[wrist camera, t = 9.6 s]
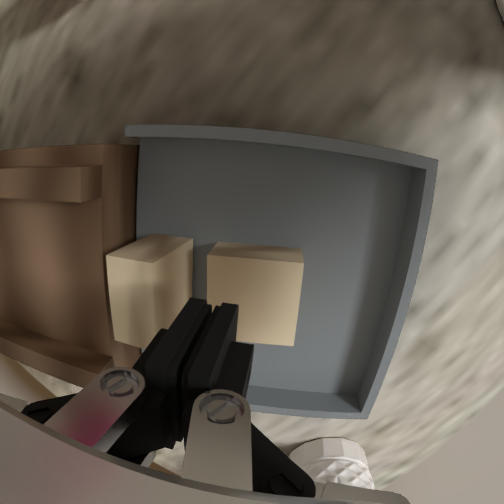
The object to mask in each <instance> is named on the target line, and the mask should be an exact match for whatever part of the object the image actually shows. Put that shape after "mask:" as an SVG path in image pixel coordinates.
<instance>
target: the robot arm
mask: <svg viewBox="0 0 504 504" xmlns="http://www.w3.org/2000/svg"><path fill="white" fill-rule="evenodd" d="M496 3H497V6H498V9H499V12H500V14H501V16H502V19H503V21H504V0H496ZM238 312H239V305H237V304H231V303H224V302H222V304H221V306H217V305H216V306H215V308H214V310H213V312H212V305H211V304H207V300H205V299H199V298H193V297H190V298H189V300H188V301H187V303H186V304H185V306H184V307H183V308H182V310H181V311H180V313H179V314H178V316H177V317H176V318H175V320H174V321H173V323H172V324H171V326H170V327H169V329H164V328H162V329H160V330H159V331H158V333H157V334H156V335H155V337H154V338H153V339H152V341H151V342H150V344H149V345H148V346H147V348H146V349H145V350H144V352H143V353H142V355H141V356H140V357H139V359H138V360H137V362H136V363H135V364H134V366H133V367H132V369H131V368H128V367H113V368H109V369H107V370H104V371H103V372H101V373H100V374H99V375H97V376H96V377H95V378H94V379H93V380H92V381H91V382H90V383H89V384H87V385H86V386H85V387H84V388H83V389H82V390H81V391H80V392H79V393H76V394H71V395H67V396H62V397H57V398H52V399H47V400H42V401H37V402H34V403H31V404H28V401H25V400H21V399H18V398H14V397H11V396H8V395H4V394H1V393H0V504H410V503H409V501H408V500H407V499H406V498H405V497H404V496H402V495H401V494H397V493H394V492H388V491H380V490H373V489H367V488H361V487H355V486H350V485H345V484H340V483H335V482H330V481H327V482H326V484H323V483H319V482H315V481H313V480H312V478H311V477H310V476H309V475H308V474H307V473H306V472H305V471H304V470H302V469H301V468H300V467H299V466H298V465H297V464H295V463H294V462H293V461H292V460H291V459H290V458H289V457H288V456H286V455H285V454H284V453H283V452H282V451H281V450H280V449H279V448H278V447H276V446H275V445H274V444H273V443H272V442H271V441H270V440H269V439H268V438H267V437H266V436H265V435H264V434H262V433H261V432H260V431H259V430H258V429H257V428H256V427H255V426H254V425H253V424H252V423H251V410H250V406H249V403H248V402H247V400H246V395H247V391H248V386H249V381H250V375H251V369H252V362H253V354H254V344H248V343H241V342H236V335H237V323H238ZM183 437H184V447H185V455H184V462H183V468H182V474H181V477H178V476H175V475H171V474H167V473H164V472H160V471H157V470H154V469H150V468H148V467H149V466H150V464H151V463H152V461H153V460H154V458H155V456H156V450H159V449H162V448H164V447H166V448H169V449H173V447H174V445H175V443H176V441H179V442H181V441H182V440H183Z"/></svg>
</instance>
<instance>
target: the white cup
mask: <svg viewBox="0 0 504 504" xmlns="http://www.w3.org/2000/svg"><path fill="white" fill-rule="evenodd" d="M289 458H290V459H291V460H292V461H293V462H294V463H295V464H297V465H298V466H299V467H300V468H301V469H302V470H304V471H305V472H306V473H307V474H308V475H309V476H310V477H311V478H312V480H313V481H315V482H319V483H323V484H326V482H327V481H330V482H335V483H340V484H345V485H350V486H355V487H361V488H367V489H373V490H375V488H374V483H373V479H372V477H371V475H370V472H369V469H368V465H367V460H366V456H365V452H364V450H363V449H362V448H361V447H360V446H359V445H358V444H357V443H356V442H355V441H351V440H348V439H344V438H321V439H317V440H313V441H310V442H306V443H304V444H302V445H301V446H299V447H297V448H296V449H294V450H293V451H291V453H290V455H289Z"/></svg>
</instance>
